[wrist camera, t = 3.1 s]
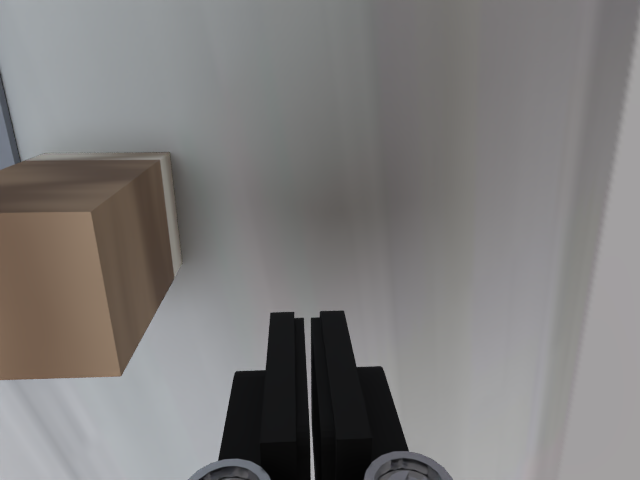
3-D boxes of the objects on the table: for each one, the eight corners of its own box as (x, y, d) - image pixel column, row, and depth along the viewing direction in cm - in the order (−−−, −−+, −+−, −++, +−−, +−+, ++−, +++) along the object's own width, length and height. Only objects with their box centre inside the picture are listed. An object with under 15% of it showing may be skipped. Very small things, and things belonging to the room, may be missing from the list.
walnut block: (169, 152, 19) (90, 211, 12) (182, 263, 21) (120, 376, 13) (44, 153, 19) (-118, 214, 11) (68, 265, 21) (-59, 381, 13)
